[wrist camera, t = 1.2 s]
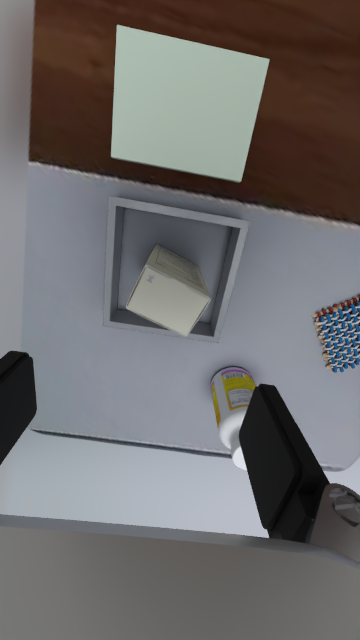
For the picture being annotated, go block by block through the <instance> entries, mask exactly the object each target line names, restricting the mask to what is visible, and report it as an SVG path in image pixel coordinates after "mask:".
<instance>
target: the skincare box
mask: <svg viewBox="0 0 360 640" xmlns="http://www.w3.org/2000/svg"><path fill="white" fill-rule="evenodd" d="M210 301H211V298H210V296H209V293H208V291H207V288H206V286H205V283H204V281H203V278H202V276H201V273H200V271H199V268H198V266H196V265H195V264H193V263H191V262H190V261H188V260H186V259H184V258H183V257H181V256H179V255H177V254H175V253H173V252H171V251H170V250H168V249H166V248H164V247H162V246H160V245H158V244H156V245H155V247H154V249H153V251H152V253H151V254H150V256H149V258H148V260H147V262H146V264H145V266H144V268H143V270H142V272H141V274H140V276H139V278H138V280H137V282H136V284H135V286H134V288H133V291H132V293H131V295H130V297H129V299H128V302H127V304H126V308H127V309H128V310H130V311H132V312H134V313H136V314H138V315H140V316H141V317H144V318H145V319H148V320H150V321H152V322H154V323H156V324H158V325H160V326H163V327H165V328H167V329H169V330H172V331H174V332H176V333H179V334H181V335H183V336H188V334H189V333H190V331H191V330H192V328H193V327H194V325H195V324H196V323H197V321H198V320H199V318H200V317H201V315H202V314H203V312H204V311H205V309H206V308H207V306H208V304H209V303H210Z"/></svg>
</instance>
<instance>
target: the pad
mask: <svg viewBox="0 0 360 640" xmlns="http://www.w3.org/2000/svg"><path fill="white" fill-rule="evenodd" d="M269 60H270V59H266V58H262V57H257V56H253V55H248V54H244V53H240V52H235V51H231V50H226V49H222V48H217V47H213V46H209V45H204V44H200V43H195V42H191V41H186V40H182V39H178V38H173V37H169V36H164V35H160V34H156V33H151V32H147V31H142V30H138V29H133V28H129V27H125V26H120V25H117V34H116V56H115V79H114V101H113V124H112V146H111V157H112V158H113V159H118V160H123V161H128V162H134V163H139V164H144V165H149V166H155V167H160V168H165V169H170V170H175V171H181V172H186V173H191V174H196V175H201V176H207V177H212V178H217V179H222V180H228V181H233V182H238V183H240V182H241V180H242V176H243V171H244V167H245V163H246V159H247V154H248V150H249V146H250V141H251V137H252V133H253V129H254V124H255V120H256V116H257V111H258V107H259V103H260V99H261V94H262V90H263V86H264V81H265V77H266V73H267V69H268V64H269Z"/></svg>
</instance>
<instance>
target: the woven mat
mask: <svg viewBox="0 0 360 640" xmlns="http://www.w3.org/2000/svg"><path fill="white" fill-rule="evenodd" d="M358 301H360V295H359V297H357V298H354V299H351V300H349V301H346V302H344V303H341V304H338V305H337V304H334V305H333V307H331V308H328V309H324V310H322V311H321V312H318V313H315V314H313V315H312V318H315V317H317V319H316V321H318V322H314V323H315V326H320V327H317V328H315V329H316V331H320V330H322V333H320V334H319V335H318V338H319V339H321V342H322V343H325V344H324V345H323V349H325V350H326V352H324V353H323V357H326V358H324V361H326V360H329V361H330V363H329V364H328V365H327V366H326V368H327V369H331V368H332V371H333V372H337V368H340V371H341V372H344V370H343V367H344V368H345V369H347V368H348V365H349V366H351V367H352V368H355V365H354V363H355V364H356V365H358V364H359V361H360V302H358ZM345 306H348V307H345ZM327 313H330V315H329V314H327ZM321 315H324V317H323V316H321ZM343 316H344V317H343ZM325 323H326V324H325ZM326 328H327V329H326ZM334 334H335V335H334ZM341 336H342V337H341ZM322 338H324V339H322ZM339 357H340V358H339ZM334 358H335V359H334ZM353 362H354V363H353ZM342 366H343V367H342Z"/></svg>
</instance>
